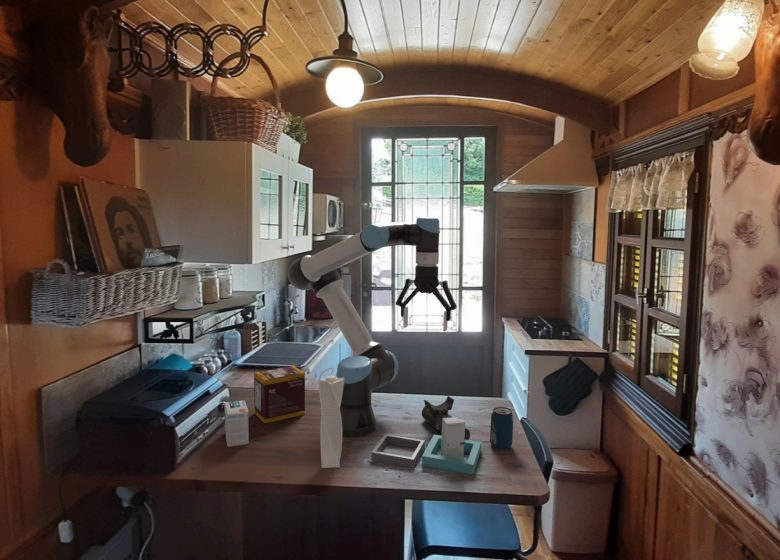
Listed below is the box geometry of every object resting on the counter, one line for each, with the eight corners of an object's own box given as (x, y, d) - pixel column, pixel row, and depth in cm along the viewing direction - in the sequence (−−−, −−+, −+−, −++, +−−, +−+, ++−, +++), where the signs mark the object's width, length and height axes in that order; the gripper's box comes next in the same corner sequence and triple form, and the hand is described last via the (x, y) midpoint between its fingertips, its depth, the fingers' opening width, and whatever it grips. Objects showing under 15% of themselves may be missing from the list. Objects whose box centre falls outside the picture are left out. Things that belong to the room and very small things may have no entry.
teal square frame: (421, 465, 152) (422, 455, 152) (433, 443, 166) (434, 434, 166) (473, 474, 147) (473, 464, 147) (480, 451, 162) (481, 442, 161)
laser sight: (449, 448, 163) (450, 418, 162) (415, 421, 183) (415, 394, 182) (475, 443, 167) (476, 413, 166) (438, 416, 187) (439, 390, 186)
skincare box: (444, 462, 154) (446, 424, 152) (440, 455, 158) (441, 417, 156) (464, 460, 155) (466, 422, 153) (459, 453, 160) (460, 416, 158)
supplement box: (305, 414, 187) (305, 372, 185) (264, 424, 178) (263, 380, 176) (294, 405, 196) (293, 365, 193) (254, 413, 187) (253, 371, 185)
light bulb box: (224, 433, 171) (223, 401, 169) (245, 430, 173) (244, 399, 172) (227, 447, 161) (226, 414, 159) (249, 444, 164) (248, 411, 162)
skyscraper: (319, 456, 156) (319, 366, 152) (344, 455, 157) (344, 366, 153) (317, 469, 149) (317, 375, 144) (343, 469, 149) (344, 375, 145)
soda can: (514, 444, 166) (516, 409, 164) (507, 453, 160) (509, 416, 159) (493, 439, 170) (495, 404, 168) (486, 447, 164) (488, 411, 162)
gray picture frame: (371, 460, 155) (371, 452, 154) (385, 441, 167) (385, 434, 167) (413, 467, 151) (413, 459, 150) (424, 447, 163) (424, 440, 163)
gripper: (387, 264, 170) (386, 327, 173) (462, 268, 162) (460, 334, 165) (394, 261, 177) (392, 322, 180) (466, 265, 169) (464, 329, 173)
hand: (425, 328), depth 173 cm, fingers open, 13 cm apart
